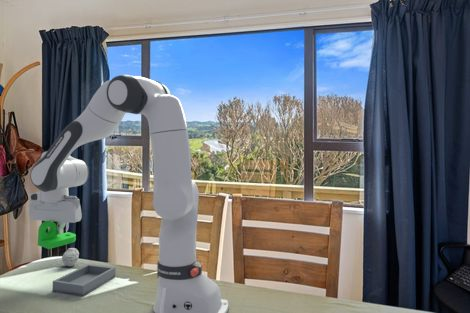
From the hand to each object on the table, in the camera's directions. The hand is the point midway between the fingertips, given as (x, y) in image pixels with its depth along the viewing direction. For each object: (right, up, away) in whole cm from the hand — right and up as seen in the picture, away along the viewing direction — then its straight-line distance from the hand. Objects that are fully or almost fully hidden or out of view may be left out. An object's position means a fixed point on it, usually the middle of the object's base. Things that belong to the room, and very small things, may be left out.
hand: (55, 233), depth 123 cm
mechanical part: (+1, -3, -1) cm, 4 cm away
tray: (+12, -17, -3) cm, 21 cm away
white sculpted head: (-2, -17, +14) cm, 22 cm away
